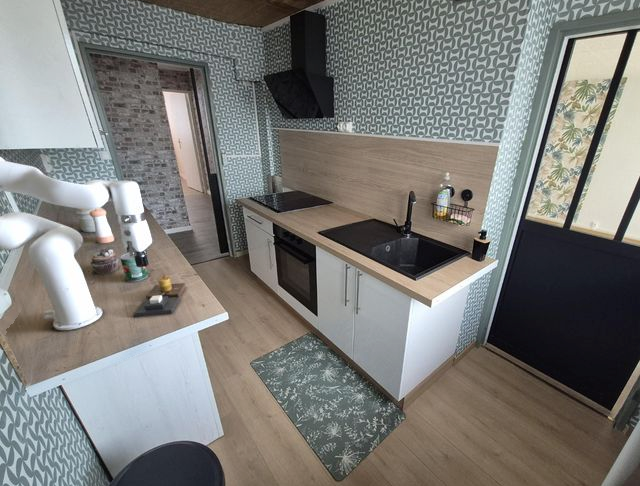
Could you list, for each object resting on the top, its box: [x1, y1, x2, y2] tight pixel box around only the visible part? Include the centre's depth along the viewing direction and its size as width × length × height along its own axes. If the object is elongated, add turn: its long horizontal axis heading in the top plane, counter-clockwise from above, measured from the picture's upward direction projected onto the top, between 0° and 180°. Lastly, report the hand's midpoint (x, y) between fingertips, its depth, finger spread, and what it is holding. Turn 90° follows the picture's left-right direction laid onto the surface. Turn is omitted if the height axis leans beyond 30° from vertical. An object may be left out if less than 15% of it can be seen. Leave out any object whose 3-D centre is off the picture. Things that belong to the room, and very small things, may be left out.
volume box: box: [145, 282, 187, 300], centre depth 120 cm, size 11×9×3 cm
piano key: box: [149, 295, 162, 304], centre depth 110 cm, size 3×3×2 cm
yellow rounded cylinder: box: [157, 275, 172, 292], centre depth 118 cm, size 4×4×5 cm
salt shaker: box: [89, 208, 115, 244], centre depth 163 cm, size 7×7×19 cm
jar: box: [75, 207, 109, 233], centre depth 179 cm, size 13×13×18 cm
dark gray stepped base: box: [133, 296, 181, 318], centre depth 110 cm, size 12×9×4 cm
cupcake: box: [90, 248, 119, 275], centre depth 134 cm, size 10×10×10 cm
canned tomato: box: [119, 252, 149, 283], centre depth 129 cm, size 8×8×11 cm
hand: (142, 265), depth 106 cm, fingers closed
